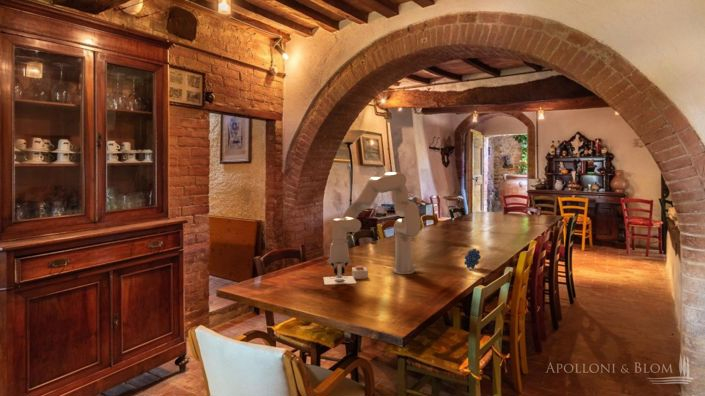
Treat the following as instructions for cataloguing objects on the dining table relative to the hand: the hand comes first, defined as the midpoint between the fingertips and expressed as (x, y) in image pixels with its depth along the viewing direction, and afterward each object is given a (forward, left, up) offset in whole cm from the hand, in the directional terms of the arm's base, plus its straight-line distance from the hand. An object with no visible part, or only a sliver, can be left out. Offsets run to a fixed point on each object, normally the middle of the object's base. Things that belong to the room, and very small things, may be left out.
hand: (339, 274), depth 225 cm
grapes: (-82, -17, -4) cm, 84 cm away
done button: (-12, -7, -1) cm, 14 cm away
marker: (0, 0, -2) cm, 2 cm away
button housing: (-12, -7, -4) cm, 15 cm away
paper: (0, -1, -4) cm, 4 cm away
